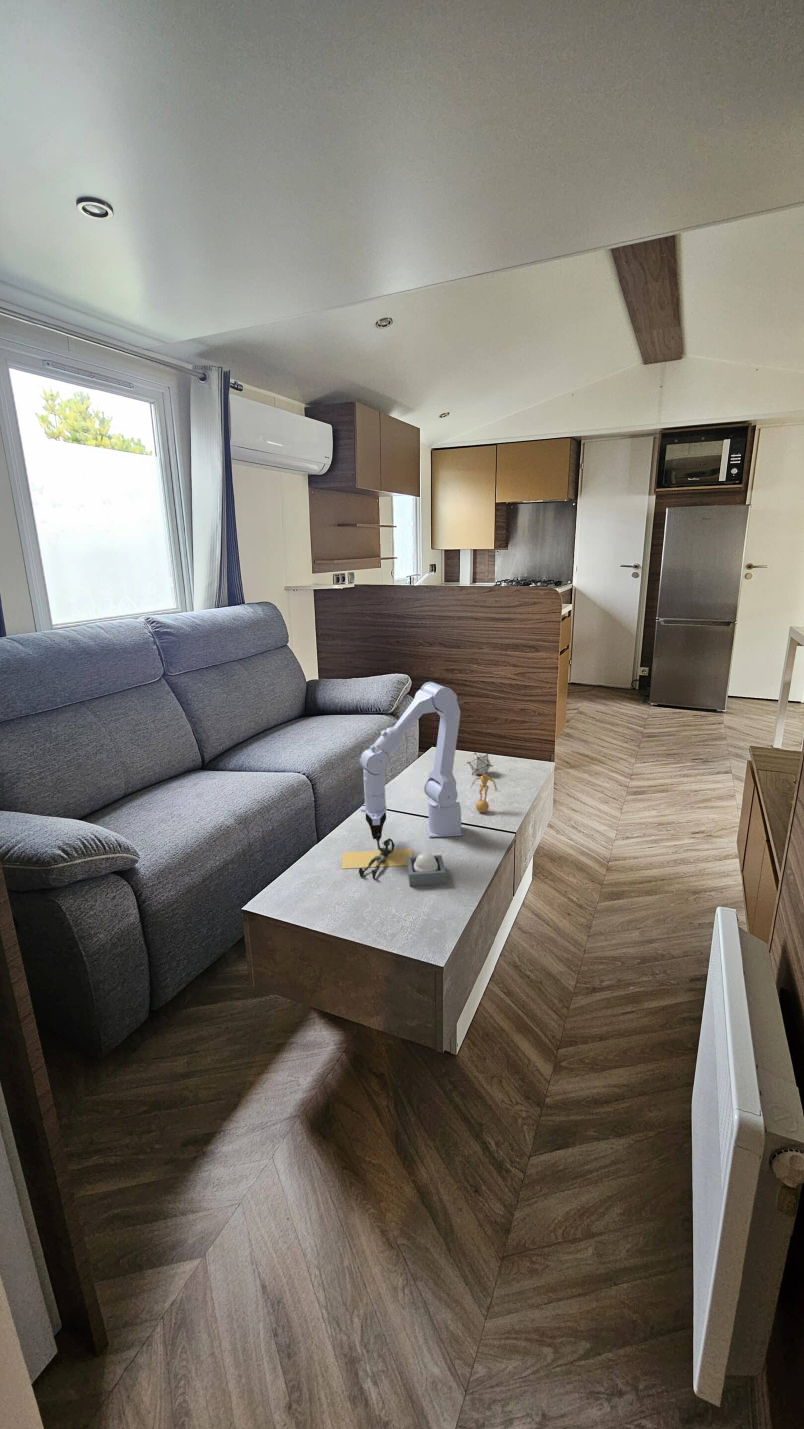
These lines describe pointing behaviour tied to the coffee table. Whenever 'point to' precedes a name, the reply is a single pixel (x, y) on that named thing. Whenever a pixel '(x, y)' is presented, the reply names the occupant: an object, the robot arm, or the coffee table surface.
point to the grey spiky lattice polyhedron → (480, 764)
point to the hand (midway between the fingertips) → (376, 838)
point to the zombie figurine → (379, 858)
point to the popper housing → (426, 873)
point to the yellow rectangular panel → (365, 857)
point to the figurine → (483, 804)
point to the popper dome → (425, 863)
